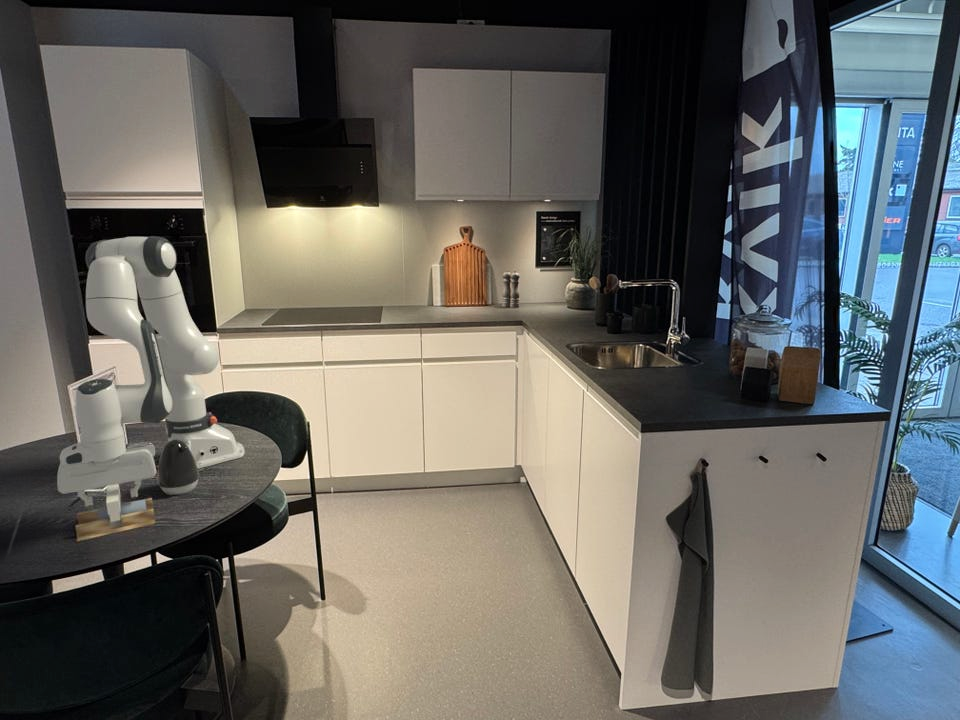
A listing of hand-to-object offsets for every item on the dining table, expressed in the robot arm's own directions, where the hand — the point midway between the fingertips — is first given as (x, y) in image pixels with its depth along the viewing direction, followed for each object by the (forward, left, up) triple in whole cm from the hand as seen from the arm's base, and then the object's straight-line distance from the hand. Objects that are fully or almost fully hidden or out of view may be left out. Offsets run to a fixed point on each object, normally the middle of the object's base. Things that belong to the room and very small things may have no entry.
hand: (112, 500), depth 143 cm
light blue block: (-2, 0, -6) cm, 6 cm away
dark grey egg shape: (-15, -12, -7) cm, 21 cm away
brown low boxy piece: (+4, 0, -7) cm, 8 cm away
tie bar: (0, 0, -1) cm, 1 cm away
